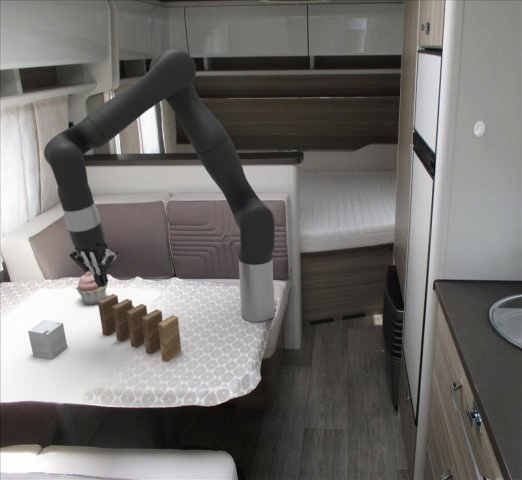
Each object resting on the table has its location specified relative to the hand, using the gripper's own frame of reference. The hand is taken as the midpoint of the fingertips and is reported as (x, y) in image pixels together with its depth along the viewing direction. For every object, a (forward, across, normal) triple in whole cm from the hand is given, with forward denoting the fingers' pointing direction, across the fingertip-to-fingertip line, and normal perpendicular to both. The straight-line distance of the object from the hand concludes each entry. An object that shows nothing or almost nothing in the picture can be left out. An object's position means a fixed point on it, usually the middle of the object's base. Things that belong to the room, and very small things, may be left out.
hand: (102, 285), depth 128 cm
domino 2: (+17, -1, -1) cm, 17 cm away
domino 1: (+17, +4, -3) cm, 18 cm away
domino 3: (+17, -7, 0) cm, 18 cm away
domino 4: (+17, -12, +2) cm, 21 cm away
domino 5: (+17, -17, +4) cm, 25 cm away
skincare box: (+15, +14, +10) cm, 23 cm away
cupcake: (+19, +20, -17) cm, 33 cm away
